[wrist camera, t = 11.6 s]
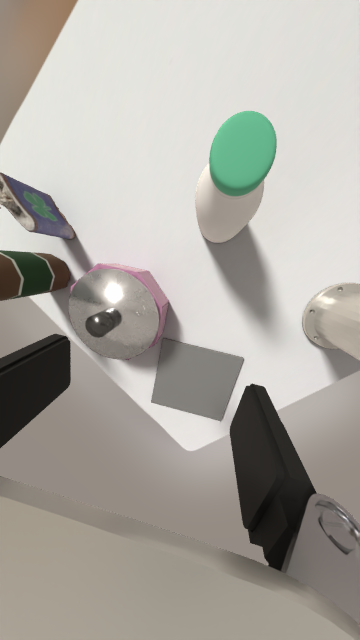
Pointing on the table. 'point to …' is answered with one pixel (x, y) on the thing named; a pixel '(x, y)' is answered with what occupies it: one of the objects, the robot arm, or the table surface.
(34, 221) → the flask
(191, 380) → the mat
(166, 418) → the table surface
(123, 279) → the lid
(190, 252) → the table surface
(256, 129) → the milk bottle
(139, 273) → the pink octagonal dish
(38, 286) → the beer bottle
